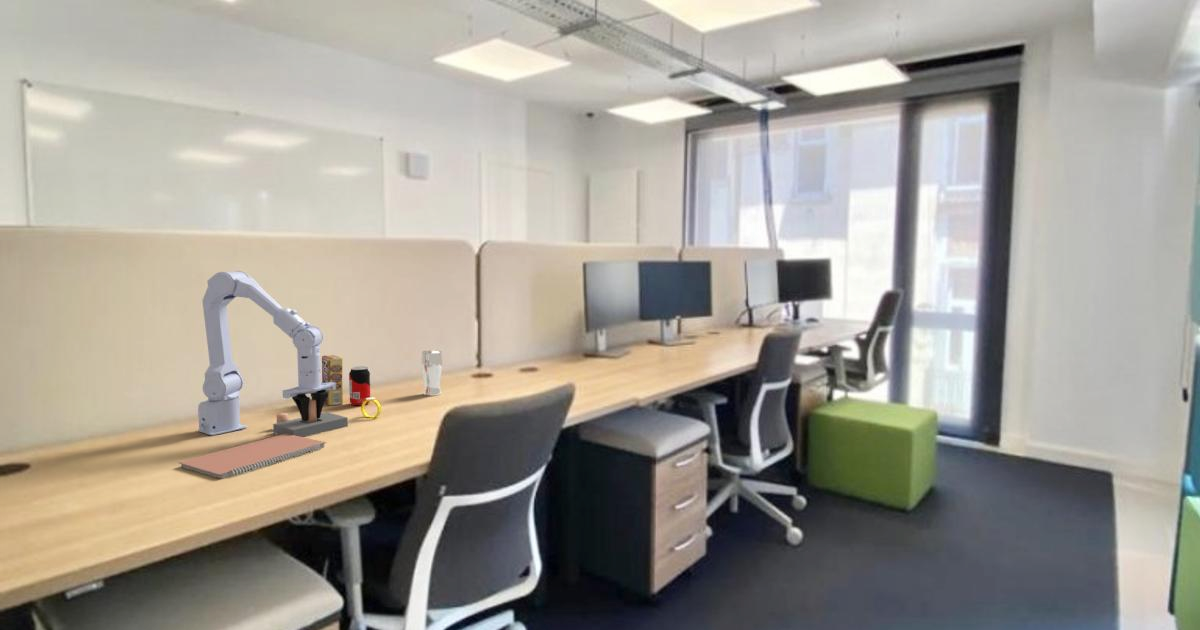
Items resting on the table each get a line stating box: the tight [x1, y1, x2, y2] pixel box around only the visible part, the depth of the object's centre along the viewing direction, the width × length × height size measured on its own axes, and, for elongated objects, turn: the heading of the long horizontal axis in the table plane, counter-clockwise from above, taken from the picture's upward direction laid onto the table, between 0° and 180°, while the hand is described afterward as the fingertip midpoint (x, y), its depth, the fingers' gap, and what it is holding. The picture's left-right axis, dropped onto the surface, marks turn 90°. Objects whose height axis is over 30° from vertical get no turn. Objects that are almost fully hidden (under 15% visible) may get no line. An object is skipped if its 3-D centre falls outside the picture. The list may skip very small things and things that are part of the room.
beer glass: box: [421, 349, 443, 397], centre depth 222 cm, size 7×7×15 cm
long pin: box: [305, 398, 317, 424], centre depth 177 cm, size 3×3×7 cm
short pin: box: [276, 412, 290, 423], centre depth 178 cm, size 3×3×4 cm
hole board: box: [272, 411, 349, 438], centre depth 178 cm, size 16×10×2 cm, turn 145°
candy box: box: [321, 354, 344, 406], centre depth 209 cm, size 9×4×15 cm, turn 39°
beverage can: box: [348, 366, 371, 406], centre depth 207 cm, size 6×6×12 cm
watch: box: [360, 396, 382, 419], centre depth 191 cm, size 6×3×6 cm, turn 76°
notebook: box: [178, 433, 327, 480], centre depth 154 cm, size 27×17×2 cm, turn 152°
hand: (311, 418), depth 177 cm, fingers closed on long pin, 3 cm apart
